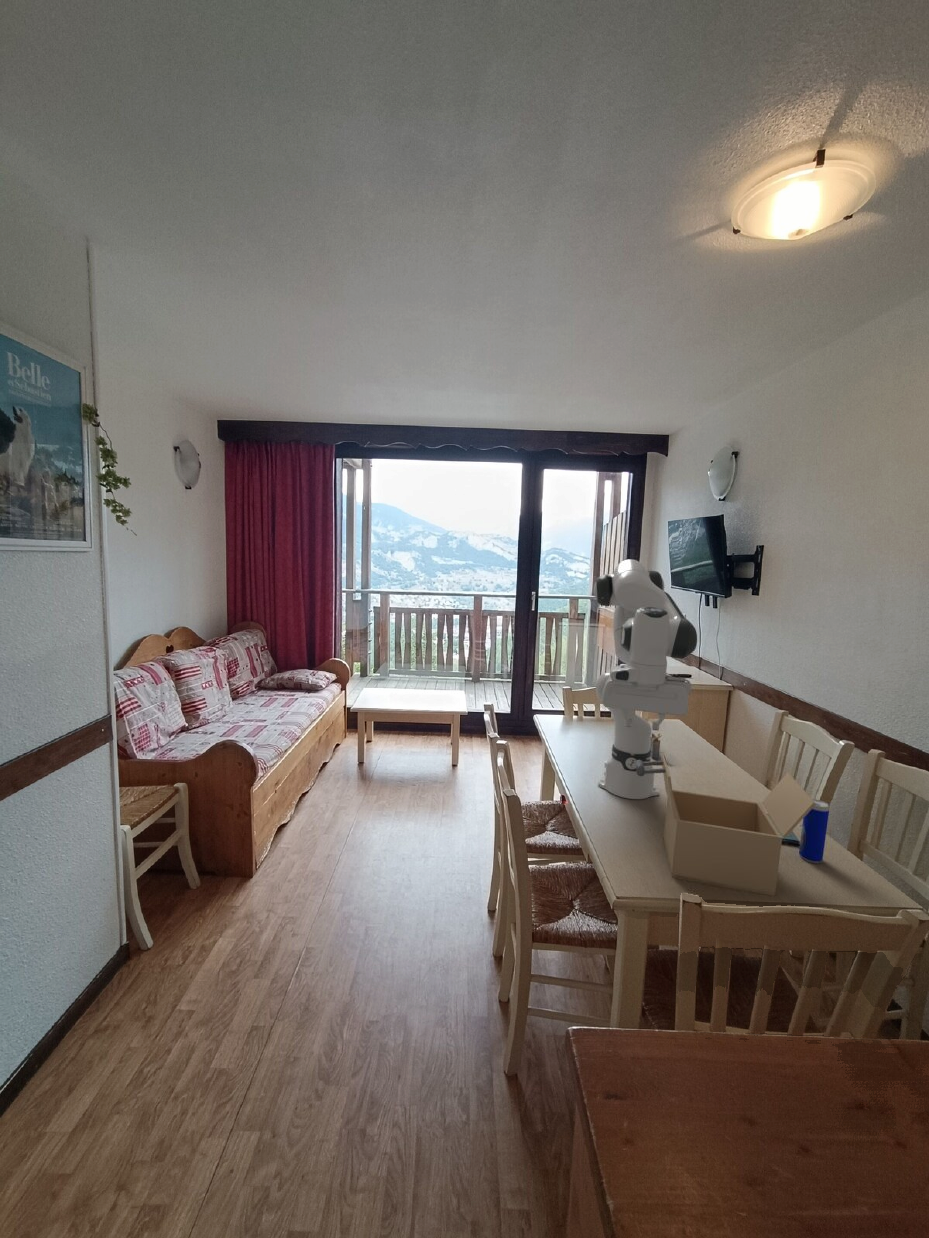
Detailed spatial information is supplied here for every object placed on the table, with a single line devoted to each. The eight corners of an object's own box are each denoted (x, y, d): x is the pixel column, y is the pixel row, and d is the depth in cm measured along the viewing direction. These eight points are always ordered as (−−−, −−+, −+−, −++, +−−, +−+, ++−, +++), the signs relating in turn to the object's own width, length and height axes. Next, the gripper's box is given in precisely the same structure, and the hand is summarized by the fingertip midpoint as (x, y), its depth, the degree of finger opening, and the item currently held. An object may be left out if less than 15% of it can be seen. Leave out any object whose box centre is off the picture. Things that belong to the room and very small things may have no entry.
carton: (663, 838, 143) (668, 789, 141) (753, 854, 138) (759, 802, 136) (671, 876, 126) (677, 820, 124) (774, 896, 120) (782, 837, 119)
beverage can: (800, 850, 141) (807, 796, 139) (823, 858, 137) (830, 802, 136) (797, 858, 137) (804, 802, 135) (821, 866, 133) (828, 809, 132)
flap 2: (783, 836, 119) (785, 837, 119) (813, 802, 117) (816, 803, 116) (761, 802, 135) (763, 804, 135) (787, 772, 133) (790, 773, 133)
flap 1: (667, 788, 141) (638, 790, 143) (662, 750, 140) (633, 752, 142) (676, 818, 124) (643, 819, 126) (670, 775, 124) (637, 777, 126)
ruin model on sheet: (659, 760, 202) (662, 735, 201) (651, 759, 202) (653, 734, 201) (650, 749, 213) (652, 725, 212) (642, 748, 213) (645, 725, 212)
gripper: (690, 675, 131) (684, 729, 133) (604, 667, 136) (600, 719, 138) (694, 681, 125) (688, 737, 127) (604, 672, 130) (600, 726, 132)
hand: (641, 728), depth 133 cm, fingers open, 5 cm apart
